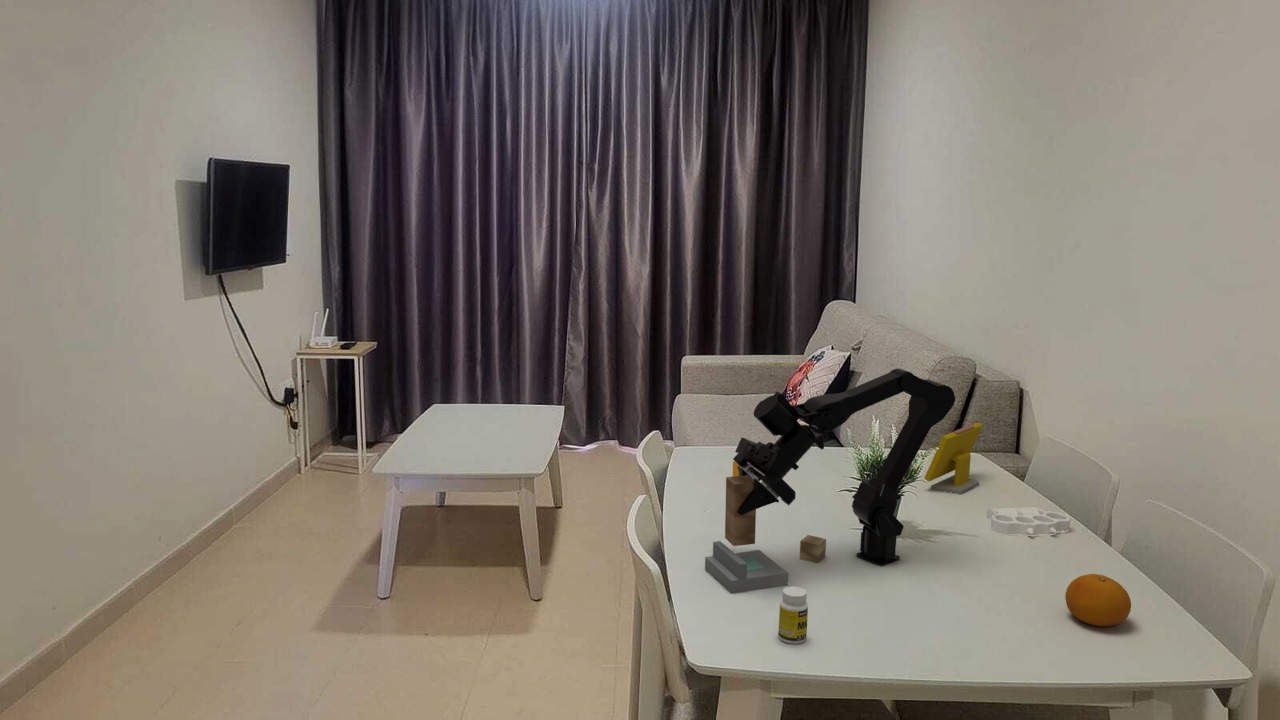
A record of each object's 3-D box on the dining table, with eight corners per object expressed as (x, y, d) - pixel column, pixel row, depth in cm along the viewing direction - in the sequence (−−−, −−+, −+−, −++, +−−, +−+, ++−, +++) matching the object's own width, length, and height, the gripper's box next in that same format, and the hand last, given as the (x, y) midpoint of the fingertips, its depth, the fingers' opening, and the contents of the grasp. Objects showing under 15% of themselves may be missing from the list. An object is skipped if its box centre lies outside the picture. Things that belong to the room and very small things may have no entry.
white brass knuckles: (1044, 516, 219) (1081, 539, 205) (972, 519, 216) (1006, 542, 202) (1045, 502, 218) (1083, 524, 204) (973, 505, 216) (1007, 528, 201)
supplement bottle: (799, 647, 153) (802, 599, 152) (773, 639, 156) (775, 592, 154) (810, 635, 157) (813, 589, 156) (785, 628, 160) (787, 583, 158)
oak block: (825, 557, 192) (826, 539, 191) (817, 563, 188) (818, 545, 188) (807, 553, 194) (808, 534, 193) (799, 559, 191) (800, 540, 190)
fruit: (1143, 631, 161) (1148, 588, 159) (1089, 636, 159) (1094, 592, 157) (1101, 605, 171) (1106, 564, 169) (1051, 609, 169) (1055, 568, 167)
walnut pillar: (746, 535, 184) (747, 475, 182) (755, 543, 180) (756, 482, 178) (724, 537, 183) (726, 477, 181) (733, 546, 179) (734, 484, 177)
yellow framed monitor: (958, 475, 249) (963, 418, 246) (987, 481, 243) (992, 423, 241) (923, 491, 235) (927, 431, 232) (952, 498, 229) (957, 437, 226)
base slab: (758, 561, 189) (759, 535, 188) (787, 584, 178) (788, 557, 177) (704, 569, 185) (705, 542, 184) (731, 593, 174) (732, 565, 173)
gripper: (743, 412, 187) (691, 469, 186) (782, 436, 170) (724, 499, 169) (778, 447, 191) (726, 503, 190) (819, 474, 173) (763, 535, 172)
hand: (734, 509), depth 180 cm, fingers closed on walnut pillar, 4 cm apart
